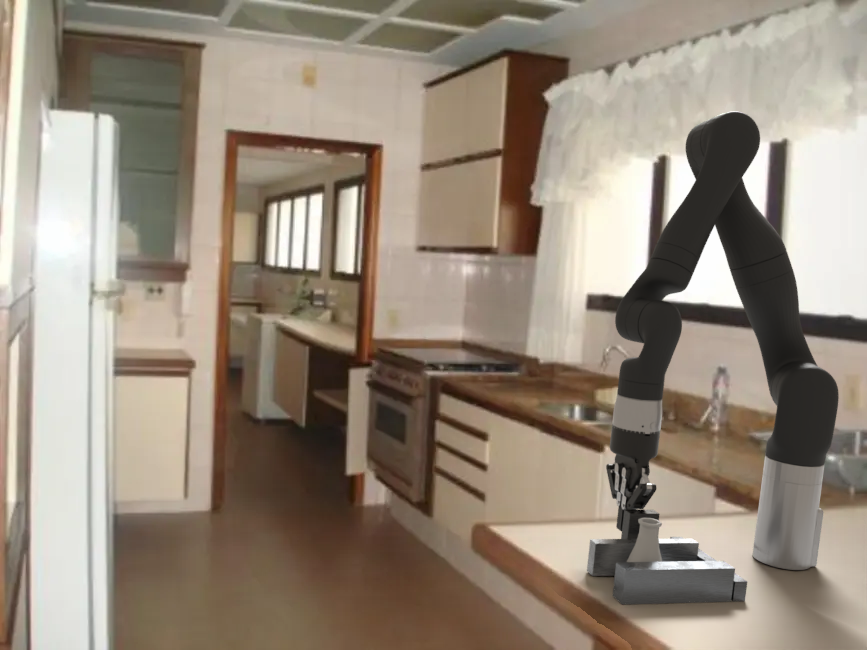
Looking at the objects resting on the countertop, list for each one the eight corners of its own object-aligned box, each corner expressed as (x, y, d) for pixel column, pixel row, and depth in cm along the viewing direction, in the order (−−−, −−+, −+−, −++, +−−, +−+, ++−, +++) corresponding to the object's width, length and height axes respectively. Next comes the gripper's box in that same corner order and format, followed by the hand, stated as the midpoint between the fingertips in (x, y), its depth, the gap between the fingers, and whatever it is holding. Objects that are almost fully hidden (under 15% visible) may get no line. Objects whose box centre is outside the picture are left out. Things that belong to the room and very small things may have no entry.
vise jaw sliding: (682, 564, 152) (688, 509, 151) (695, 573, 148) (702, 517, 147) (581, 565, 147) (587, 509, 146) (592, 575, 143) (598, 517, 142)
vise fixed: (679, 554, 157) (682, 524, 157) (744, 601, 139) (749, 568, 138) (568, 555, 152) (571, 525, 151) (621, 604, 134) (625, 570, 133)
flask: (640, 598, 137) (648, 530, 136) (608, 579, 143) (615, 515, 142) (678, 592, 140) (685, 526, 139) (644, 574, 147) (651, 511, 146)
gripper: (596, 414, 156) (585, 517, 158) (635, 434, 143) (622, 545, 145) (637, 415, 158) (626, 517, 160) (679, 435, 145) (666, 544, 147)
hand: (624, 530), depth 152 cm, fingers closed
